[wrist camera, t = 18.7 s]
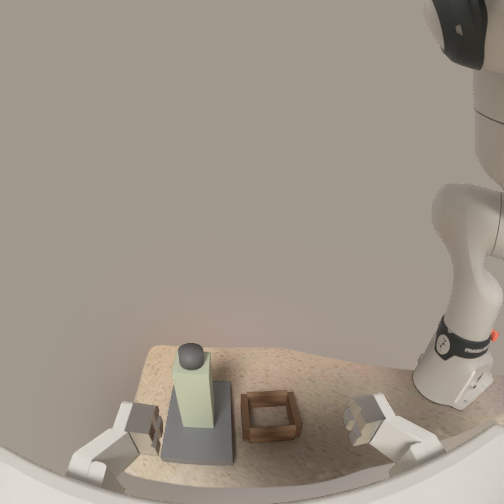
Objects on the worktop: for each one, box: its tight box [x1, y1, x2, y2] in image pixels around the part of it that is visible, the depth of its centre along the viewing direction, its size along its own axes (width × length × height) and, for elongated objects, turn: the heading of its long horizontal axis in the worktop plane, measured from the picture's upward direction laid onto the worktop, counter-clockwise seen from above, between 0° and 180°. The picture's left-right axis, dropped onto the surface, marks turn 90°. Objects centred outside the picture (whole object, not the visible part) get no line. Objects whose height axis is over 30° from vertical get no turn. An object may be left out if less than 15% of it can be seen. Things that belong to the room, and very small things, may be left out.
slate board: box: [161, 381, 233, 465], centre depth 37 cm, size 10×17×2 cm, turn 4°
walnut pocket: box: [241, 390, 302, 443], centre depth 38 cm, size 9×9×3 cm
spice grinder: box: [172, 343, 214, 428], centre depth 34 cm, size 5×5×14 cm
